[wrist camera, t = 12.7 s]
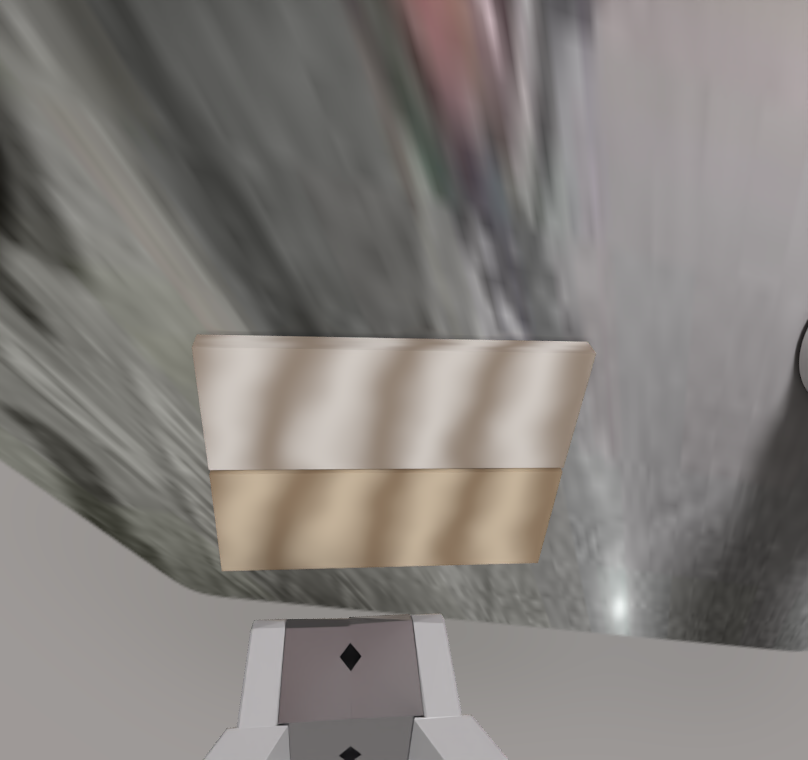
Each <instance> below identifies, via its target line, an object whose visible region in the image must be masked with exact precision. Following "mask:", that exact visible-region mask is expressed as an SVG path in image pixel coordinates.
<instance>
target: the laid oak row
mask: <svg viewBox="0 0 808 760" xmlns="http://www.w3.org/2000/svg"><path fill="white" fill-rule="evenodd" d="M209 475H210V482H211V490H212V498H213V505H214V513H215V521H216V529H217V536H218V544H219V552H220V559H221V567H222V571H246V570H284V569H322V568H360V567H398V566H436V565H474V564H512V563H538V560H539V557H540V553H541V549H542V545H543V542H544V538H545V534H546V531H547V527H548V523H549V519H550V516H551V512H552V508H553V505H554V501H555V497H556V493H557V490H558V486H559V482H560V479H561V475H562V470H561V468H437V469H297V470H211V471H210V474H209Z"/></svg>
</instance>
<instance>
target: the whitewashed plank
mask: <svg viewBox="0 0 808 760" xmlns="http://www.w3.org/2000/svg"><path fill="white" fill-rule="evenodd" d="M192 352H193V359H194V366H195V374H196V381H197V388H198V395H199V402H200V409H201V417H202V424H203V431H204V438H205V445H206V453H207V460H208V467H209V470H297V469H437V468H563V467H564V464H565V460H566V457H567V453H568V450H569V446H570V443H571V439H572V436H573V432H574V429H575V426H576V422H577V419H578V415H579V412H580V408H581V405H582V401H583V398H584V394H585V391H586V387H587V384H588V380H589V377H590V373H591V370H592V366H593V363H594V359H595V356H596V353H595V351H594V350H593V349H592V347H591V346H590V344H589V343H588V342H569V341H515V340H461V339H407V338H353V337H299V336H245V335H197V336H196V338H195V341H194V343H193V346H192Z"/></svg>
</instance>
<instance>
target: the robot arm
mask: <svg viewBox="0 0 808 760" xmlns="http://www.w3.org/2000/svg"><path fill="white" fill-rule="evenodd" d="M799 370H800V376H801V379H802V382H803V384H804V386H805V388H806V390H807V391H808V329H807V331H806V333H805V336H804V339H803V342H802V346H801V350H800V357H799ZM203 760H509V759H508V758H507V757H506V756H505V754H504V753H503V752H502V751H501V750H500V748H499V747H498V746H497V745H496V744H495V742H494V741H493V740H492V739H491V738H490V736H489V735H488V734H487V733H486V732H485V730H484V729H483V728H482V727H481V726H480V724H479V723H478V722H477V721H476V720H475V718H474V717H473V716H472V715H462V712H461V707H460V701H459V696H458V691H457V685H456V679H455V674H454V668H453V663H452V657H451V652H450V646H449V640H448V635H447V629H446V624H445V620H444V618H443V616H442V615H441V614H422V615H409V614H401V615H382V616H363V617H349V618H344V619H343V618H338V619H276V620H254V622H253V625H252V628H251V631H250V638H249V645H248V652H247V659H246V666H245V673H244V680H243V687H242V695H241V702H240V709H239V716H238V723H237V728H227V729H226V730H225V731H224V733H223V734H222V735H221V737H220V738H219V739H218V741H217V742H216V744H215V745H214V746H213V747H212V748H211V750H210V751H209V753H208V754H207V755H206V756H205V758H204V759H203Z"/></svg>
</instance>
